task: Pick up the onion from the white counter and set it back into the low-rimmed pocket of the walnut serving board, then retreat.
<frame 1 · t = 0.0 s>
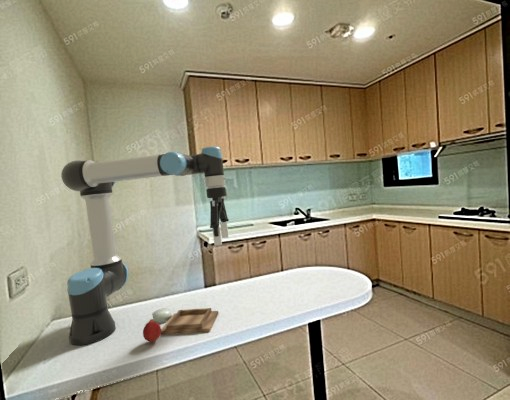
hand: (221, 241, 119), 28 cm above the table, fingers open, 13 cm apart
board: (190, 323, 113), on the table
pale green dome: (162, 319, 119), on the table
onion: (153, 342, 102), on the table
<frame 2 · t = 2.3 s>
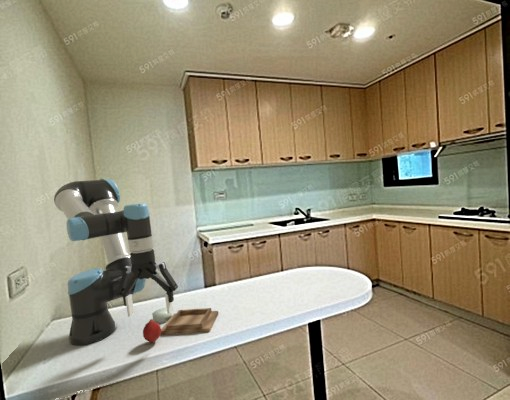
hand: (150, 313, 101), 10 cm above the table, fingers open, 13 cm apart
nothing on the table moved.
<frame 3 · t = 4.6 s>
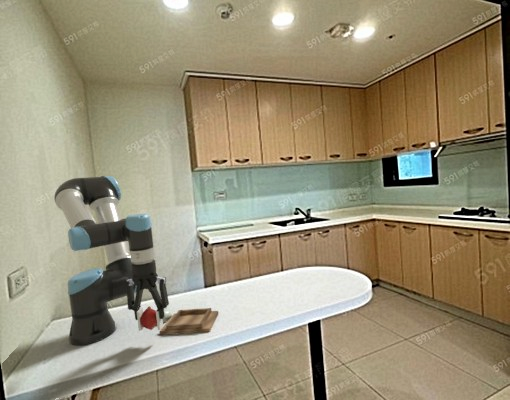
hand: (151, 328, 102), 5 cm above the table, fingers closed on onion, 6 cm apart
onion: (151, 330, 102), point 4 cm above the table, touching gripper
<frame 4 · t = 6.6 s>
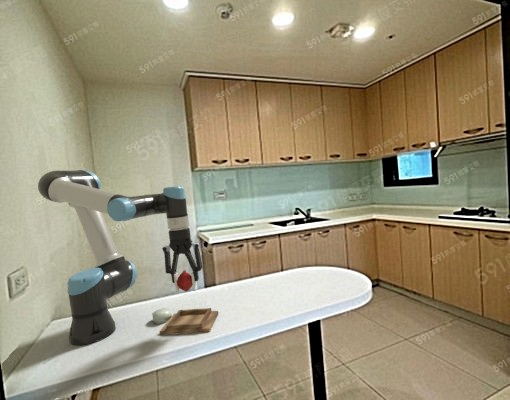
hand: (186, 290, 112), 13 cm above the table, fingers closed on onion, 6 cm apart
onion: (186, 291, 112), point 12 cm above the table, touching gripper
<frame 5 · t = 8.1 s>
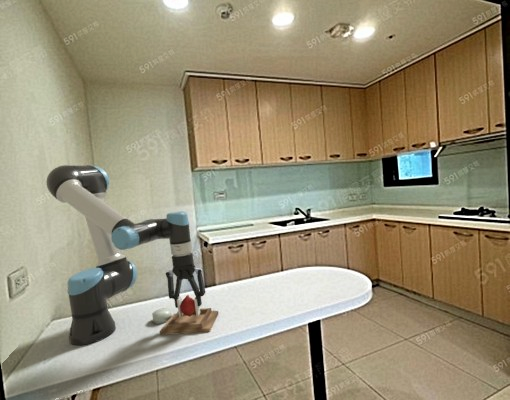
hand: (189, 315, 113), 3 cm above the table, fingers closed on onion, 6 cm apart
onion: (189, 316, 112), point 3 cm above the table, touching gripper
when the fingers open (3 cm above the table, at t = 8.9 s): onion drops 1 cm, resting on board.
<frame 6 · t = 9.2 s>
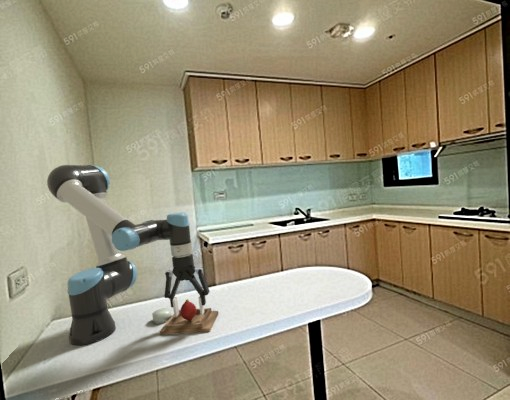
hand: (189, 314, 113), 4 cm above the table, fingers open, 9 cm apart
onion: (190, 321, 113), point 1 cm above the table, touching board
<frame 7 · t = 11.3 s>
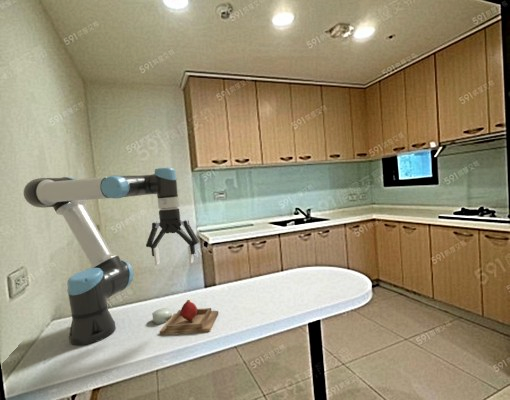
hand: (174, 263, 117), 22 cm above the table, fingers open, 13 cm apart
nothing on the table moved.
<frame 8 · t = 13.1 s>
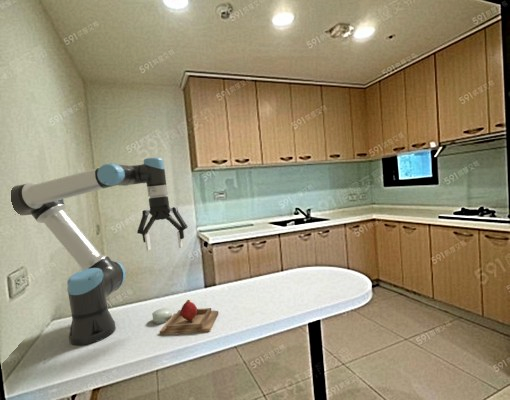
hand: (164, 248, 123), 27 cm above the table, fingers open, 13 cm apart
nothing on the table moved.
at the end: onion inside the target area on the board (0.3 cm from its centre), point 1.0 cm above the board's base; the gripper is holding nothing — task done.
